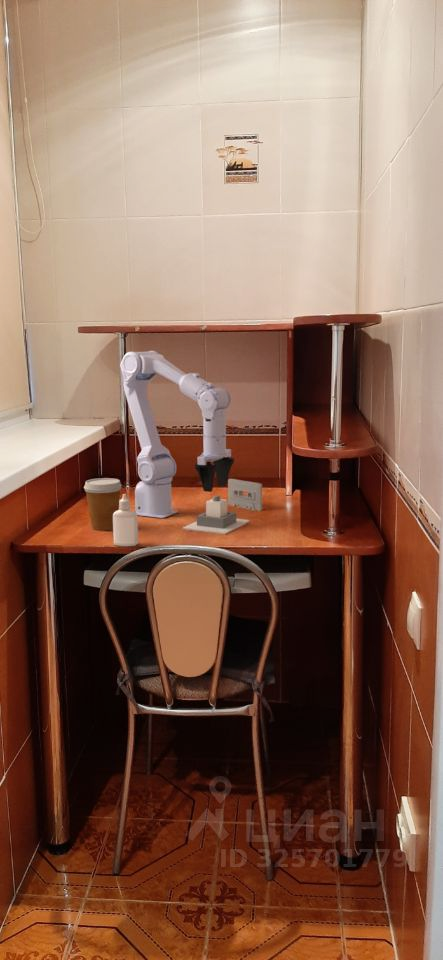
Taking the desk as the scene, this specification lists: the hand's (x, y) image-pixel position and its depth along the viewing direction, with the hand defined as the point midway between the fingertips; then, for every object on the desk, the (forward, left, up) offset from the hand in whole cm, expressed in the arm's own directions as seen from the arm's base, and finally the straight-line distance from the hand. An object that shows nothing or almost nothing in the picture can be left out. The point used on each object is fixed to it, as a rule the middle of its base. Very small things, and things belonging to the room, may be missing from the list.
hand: (215, 488), depth 197 cm
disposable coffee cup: (-24, -15, -10) cm, 30 cm away
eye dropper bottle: (-10, -26, -10) cm, 30 cm away
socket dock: (+1, -1, -9) cm, 9 cm away
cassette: (-1, +20, -10) cm, 22 cm away
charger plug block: (+1, -1, -9) cm, 9 cm away
